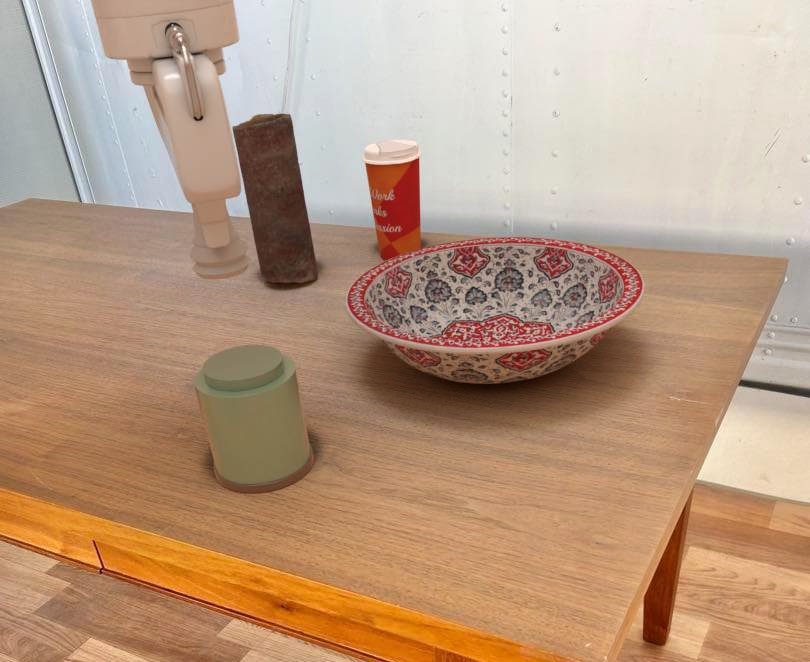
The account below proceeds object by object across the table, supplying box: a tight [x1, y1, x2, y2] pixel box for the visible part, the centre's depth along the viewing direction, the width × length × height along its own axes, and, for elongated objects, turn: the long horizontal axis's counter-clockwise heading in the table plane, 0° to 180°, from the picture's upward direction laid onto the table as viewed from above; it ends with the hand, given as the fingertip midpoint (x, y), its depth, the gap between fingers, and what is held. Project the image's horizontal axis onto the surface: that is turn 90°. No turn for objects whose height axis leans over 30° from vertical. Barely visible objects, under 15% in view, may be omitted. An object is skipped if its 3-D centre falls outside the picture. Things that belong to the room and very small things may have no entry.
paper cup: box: [361, 139, 423, 261], centre depth 112 cm, size 8×8×14 cm
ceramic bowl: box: [344, 236, 646, 385], centre depth 86 cm, size 29×29×8 cm
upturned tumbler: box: [193, 344, 315, 494], centre depth 72 cm, size 9×9×10 cm
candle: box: [231, 113, 319, 284], centre depth 106 cm, size 8×7×20 cm
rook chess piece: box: [189, 203, 252, 281], centre depth 62 cm, size 4×4×8 cm
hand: (213, 235), depth 63 cm, fingers closed on rook chess piece, 3 cm apart
